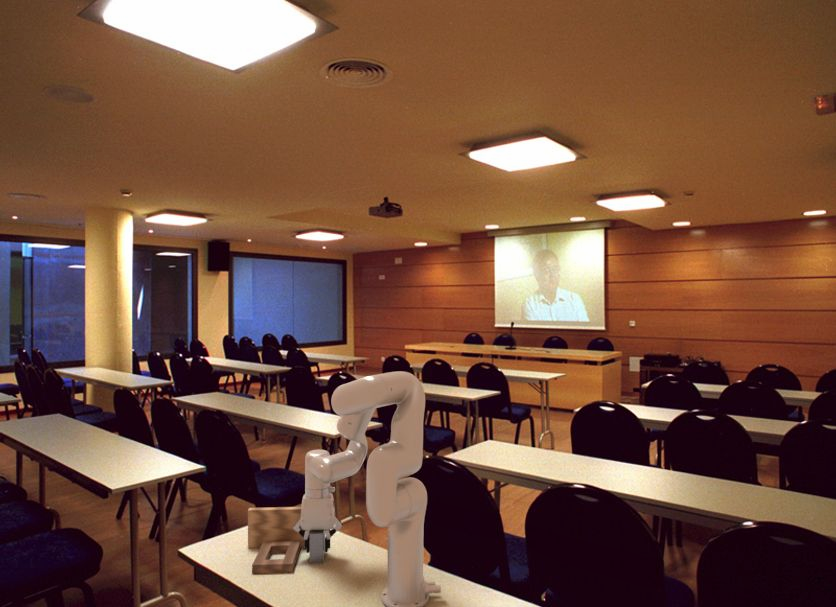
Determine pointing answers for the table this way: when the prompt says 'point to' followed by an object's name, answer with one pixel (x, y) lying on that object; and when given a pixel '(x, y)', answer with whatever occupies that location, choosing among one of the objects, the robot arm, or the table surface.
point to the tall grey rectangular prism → (317, 546)
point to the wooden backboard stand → (274, 538)
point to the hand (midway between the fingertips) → (317, 550)
